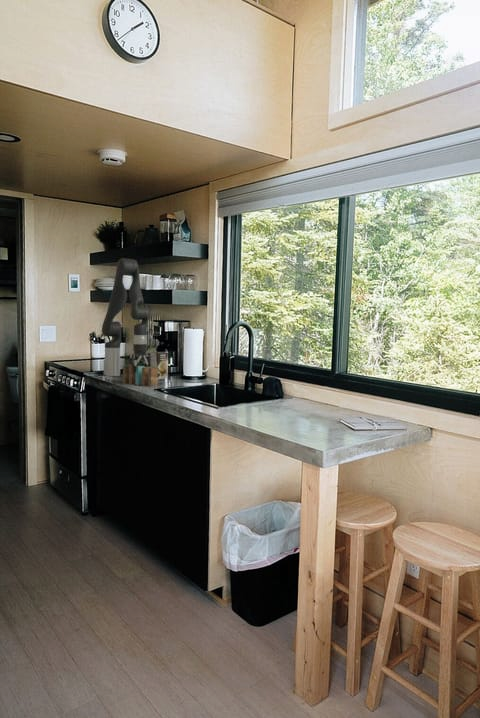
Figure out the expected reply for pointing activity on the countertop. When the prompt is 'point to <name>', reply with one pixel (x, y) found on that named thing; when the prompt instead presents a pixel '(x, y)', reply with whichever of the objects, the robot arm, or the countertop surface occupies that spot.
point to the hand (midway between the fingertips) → (139, 371)
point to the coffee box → (160, 363)
